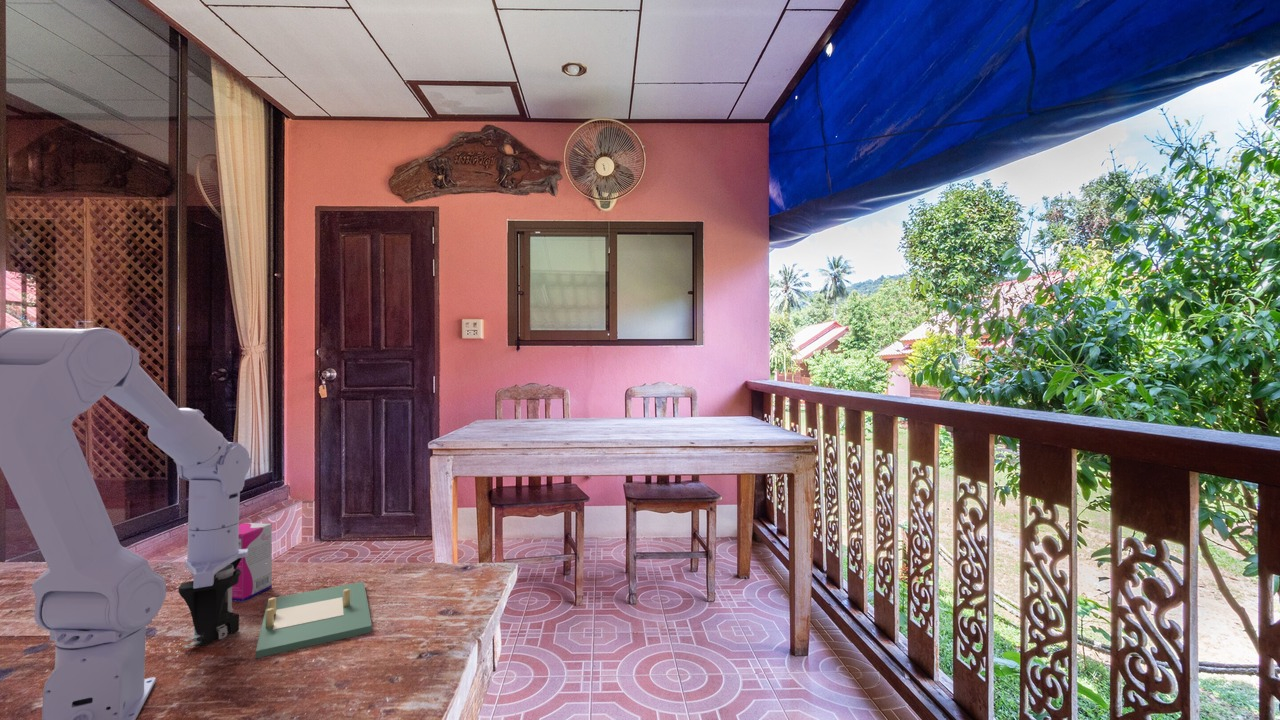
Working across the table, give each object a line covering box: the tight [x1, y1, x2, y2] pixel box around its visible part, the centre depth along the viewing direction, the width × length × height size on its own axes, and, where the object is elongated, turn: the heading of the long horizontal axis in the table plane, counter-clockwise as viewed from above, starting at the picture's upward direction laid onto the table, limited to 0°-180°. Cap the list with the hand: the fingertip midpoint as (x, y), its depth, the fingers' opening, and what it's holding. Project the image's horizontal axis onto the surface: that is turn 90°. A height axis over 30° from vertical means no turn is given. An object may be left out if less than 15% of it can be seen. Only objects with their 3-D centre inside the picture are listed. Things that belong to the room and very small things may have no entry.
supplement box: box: [232, 522, 273, 603], centre depth 89 cm, size 6×6×12 cm
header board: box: [255, 581, 373, 659], centre depth 81 cm, size 18×14×4 cm
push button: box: [183, 564, 241, 649], centre depth 75 cm, size 7×5×10 cm
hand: (211, 618), depth 75 cm, fingers open, 7 cm apart
